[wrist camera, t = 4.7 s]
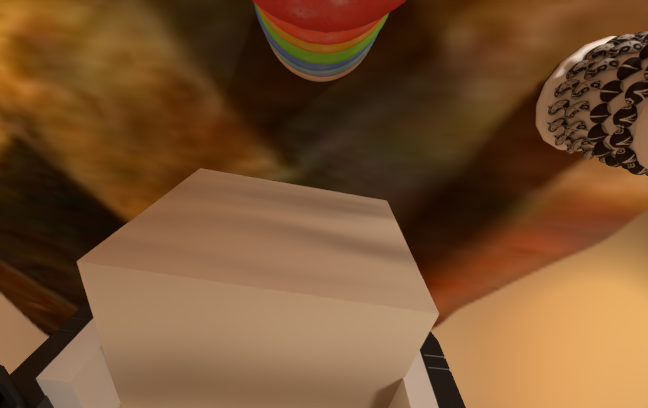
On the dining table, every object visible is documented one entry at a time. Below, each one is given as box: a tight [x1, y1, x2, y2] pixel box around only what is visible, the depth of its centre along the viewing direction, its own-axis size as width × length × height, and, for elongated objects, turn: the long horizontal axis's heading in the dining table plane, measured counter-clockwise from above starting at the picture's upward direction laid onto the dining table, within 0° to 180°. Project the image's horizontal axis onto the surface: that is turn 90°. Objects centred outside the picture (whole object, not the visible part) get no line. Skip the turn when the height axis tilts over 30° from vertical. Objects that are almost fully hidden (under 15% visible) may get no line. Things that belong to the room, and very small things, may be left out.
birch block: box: [77, 168, 439, 408], centre depth 10 cm, size 8×8×6 cm
